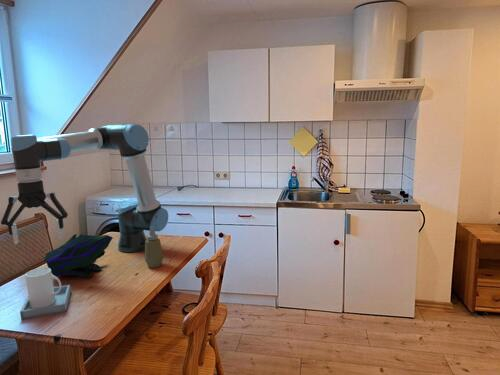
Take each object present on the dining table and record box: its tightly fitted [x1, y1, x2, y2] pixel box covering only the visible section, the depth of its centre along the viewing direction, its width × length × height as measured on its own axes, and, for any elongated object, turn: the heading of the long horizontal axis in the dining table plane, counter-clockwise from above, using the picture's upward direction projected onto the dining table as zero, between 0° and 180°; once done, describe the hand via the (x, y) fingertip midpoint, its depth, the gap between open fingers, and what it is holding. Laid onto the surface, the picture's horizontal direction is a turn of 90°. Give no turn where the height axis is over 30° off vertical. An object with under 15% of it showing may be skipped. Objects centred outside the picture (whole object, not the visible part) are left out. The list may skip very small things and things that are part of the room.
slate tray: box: [19, 284, 72, 321], centre depth 136 cm, size 14×17×3 cm
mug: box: [24, 267, 62, 309], centre depth 135 cm, size 12×8×12 cm
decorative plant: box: [44, 233, 114, 279], centre depth 160 cm, size 21×26×30 cm
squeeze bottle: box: [144, 227, 164, 269], centre depth 168 cm, size 8×8×18 cm
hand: (38, 240), depth 131 cm, fingers open, 13 cm apart
